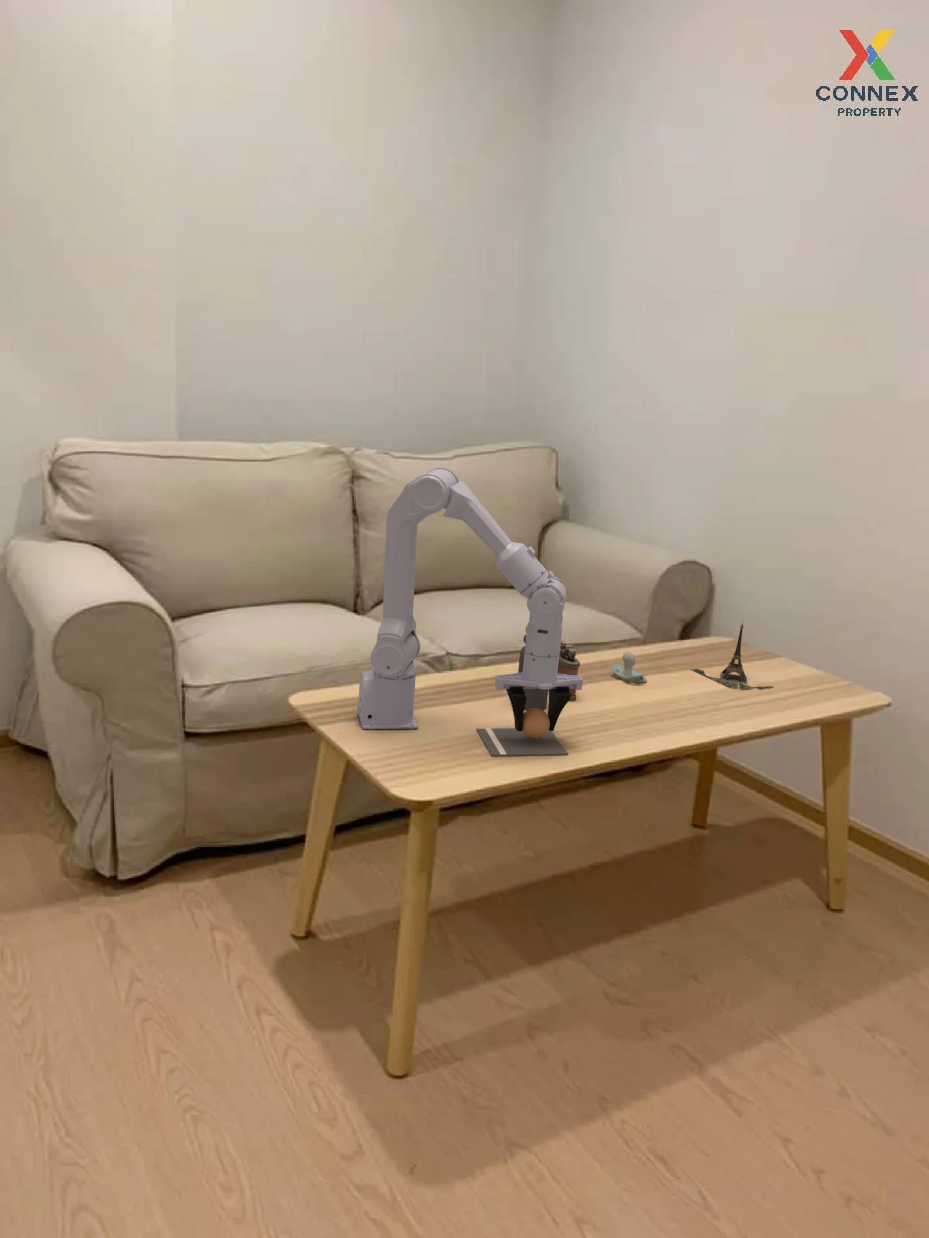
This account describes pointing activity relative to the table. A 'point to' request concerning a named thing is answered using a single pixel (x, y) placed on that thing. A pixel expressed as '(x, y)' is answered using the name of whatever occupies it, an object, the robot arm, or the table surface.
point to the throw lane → (519, 743)
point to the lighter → (568, 664)
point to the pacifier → (628, 669)
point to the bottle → (534, 696)
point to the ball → (535, 723)
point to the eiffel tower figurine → (731, 679)
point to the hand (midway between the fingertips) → (534, 729)
